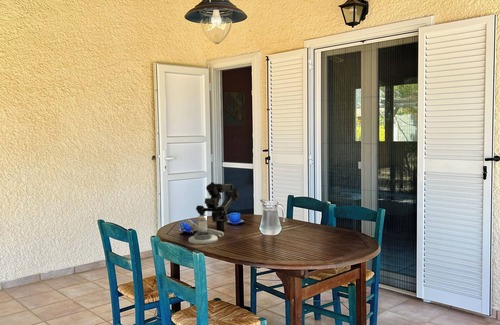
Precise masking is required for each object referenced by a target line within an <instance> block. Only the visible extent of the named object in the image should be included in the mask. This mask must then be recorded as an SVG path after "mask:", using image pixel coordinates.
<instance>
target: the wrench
mask: <svg viewBox="0 0 500 325" xmlns="http://www.w3.org/2000/svg"><path fill="white" fill-rule="evenodd" d="M183 224H185V225H186V224H187V225H188V227H189V226H190V227H191V232H192V233H191V232H190V233H191V234H195V233H194V232H195V231H197V232H199V229H198V225H197V223H195V222H194V221H193V220H191V219H186V220H185V221H184V223H183ZM207 232H210V233H212V235H215V236H217V237H219V238H222V237H224V235H225V233H224V232H221V231H217V230H216V229H213V228H208V227H207Z"/></svg>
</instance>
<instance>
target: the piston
mask: <svg viewBox="0 0 500 325" xmlns="http://www.w3.org/2000/svg"><path fill="white" fill-rule="evenodd" d="M197 223H198V229H199V231H198V232H199V235H208V232H207V228H208V216H207V215H200V214H199V215H198V216H197Z"/></svg>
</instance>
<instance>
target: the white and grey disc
mask: <svg viewBox="0 0 500 325" xmlns="http://www.w3.org/2000/svg"><path fill="white" fill-rule="evenodd" d="M218 237H219V236H215V235H212V233H210V232H208V235H199V231H197V232H195V233H193V235H191V236H190V237H189V238H188V242H189V243H190V244H195V245H207V244H213V243H216V242H218V240H219V238H218Z"/></svg>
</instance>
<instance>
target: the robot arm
mask: <svg viewBox="0 0 500 325" xmlns="http://www.w3.org/2000/svg"><path fill="white" fill-rule="evenodd" d="M205 189H206V191H207V193H208V194H209V196H210V197H209V198H207V197H205V198H204V204H205V207H204V205H199V204H198V205H196V206H195V210H196V212H197V213H198V214H199V216H200V215H205V214H206V212H211V220H212V222H213V223H215V230H217V231H221V232H223V233H224V232H226V230H227V228H226V224H225V222H228V219H229V217H228V215H227V213H228V209H229V208H230V206H231V205H232V203H233V202H236V201H238V199H239V198H240V192H239V190H238V189H237V188H236V187H235V186H234V184H233V183H225V184H224V183H215V182H213V181H212V182H210V183H209V184H207V185H206V187H205ZM222 193H223V194H224V195H225V199H224V200H223V202H222V203H221V205H220V204H219V203H220V200H221V199H222Z"/></svg>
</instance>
